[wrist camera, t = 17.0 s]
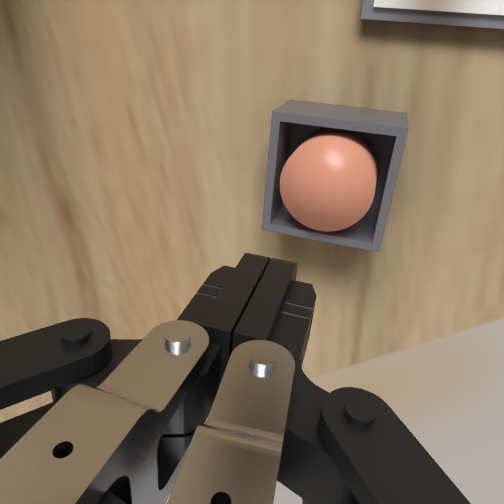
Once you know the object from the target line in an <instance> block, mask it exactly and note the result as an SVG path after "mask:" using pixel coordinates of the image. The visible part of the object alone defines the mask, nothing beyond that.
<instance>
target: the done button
mask: <svg viewBox="0 0 504 504" xmlns="http://www.w3.org/2000/svg"><path fill="white" fill-rule="evenodd" d="M377 174H378V158H377V155H376V152H375V150H374V147H373V146H372V144H371V143H370V141H369V140H368V139H367V138H366V137H365V136H364V135H363V134H361V133H360V132H358V131H351V130H344V129H336V128H328V127H324V128H321V129H319V130H317V131H315V132H313V133H312V134H311V135H309V136H308V137H307V138H306V139H305V140H304V141H303V142H302V144H301V145H300V146H299V147H298V148H297V149H296V150H295V151H294V153H293V154H292V155H291V156H290V157H289V158H288V160H287V161H286V163H285V165H284V167H283V169H282V173H281V177H280V193H281V197H282V200H283V203H284V205H285V207H286V208H287V210H288V211H289V213H290V214H291V215H292V216H293V217H294V218H295V219H296V220H297V221H298V222H300V223H301V224H303V225H305V226H307V227H309V228H312V229H315V230H319V231H338V230H342V229H345V228H348V227H350V226H352V225H354V224H355V223H356V222H358V221H359V220H360V219H361V218H362V217H363V216H364V215H365V214H366V213H367V211H368V210H369V208H370V206H371V204H372V202H373V198H374V194H375V188H376V181H377Z"/></svg>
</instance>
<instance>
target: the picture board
mask: <svg viewBox="0 0 504 504" xmlns="http://www.w3.org/2000/svg"><path fill="white" fill-rule="evenodd" d="M360 19H365V20H379V21H393V22H407V23H421V24H435V25H448V26H462V27H476V28H490V29H504V0H363V6H362V12H361V18H360Z"/></svg>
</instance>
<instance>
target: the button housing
mask: <svg viewBox="0 0 504 504" xmlns="http://www.w3.org/2000/svg"><path fill="white" fill-rule="evenodd" d="M324 127H328V128H336V129H344V130H351V131H358V132H360V133H361V134H363V135H364V136H365V137H366V138H367V139H368V140H369V141H370V143H371V144H372V146H373V147H374V150H375V152H376V155H377V158H378V174H377V181H376V188H375V194H374V198H373V202H372V204H371V206H370V208H369V210H368V211H367V213H366V214H365V215H364V216H363V217H362V218H361V219H360V220H359V221H358V222H356V223H355V224H354V225H352V226H350V227H348V228H345V229H342V230H338V231H319V230H315V229H312V228H309V227H307V226H305V225H303V224H301V223H300V222H298V221H297V220H296V219H295V218H294V217H293V216H292V215H291V214H290V213H289V211H288V210H287V208H286V207H285V205H284V203H283V200H282V197H281V193H280V177H281V173H282V169H283V167H284V165H285V163H286V161H287V160H288V158H289V157H290V156H291V155H292V154H293V153H294V151H295V150H296V149H297V148H298V147H299V146H300V145H301V144H302V142H303V141H304V140H305V139H306V138H307V137H308V136H309V135H311V134H312V133H313V132H315V131H317V130H319V129H321V128H324ZM407 132H408V120H407V113H399V112H390V111H382V110H373V109H365V108H357V107H348V106H340V105H331V104H323V103H314V102H306V101H297V100H290V101H288V102H286V103H285V104H283V105H282V106H280V107H278V108H277V109H275V110H273V111H272V120H271V131H270V143H269V154H268V165H267V177H266V188H265V200H264V211H263V222H262V230H265V231H270V232H276V233H281V234H286V235H291V236H297V237H302V238H307V239H312V240H317V241H323V242H328V243H333V244H338V245H344V246H349V247H354V248H359V249H365V250H370V251H375V252H379V250H380V246H381V242H382V238H383V233H384V229H385V225H386V221H387V217H388V212H389V208H390V204H391V200H392V195H393V191H394V187H395V183H396V178H397V174H398V170H399V166H400V161H401V157H402V153H403V149H404V145H405V140H406V136H407Z"/></svg>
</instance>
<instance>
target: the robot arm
mask: <svg viewBox="0 0 504 504" xmlns="http://www.w3.org/2000/svg"><path fill="white" fill-rule="evenodd" d="M296 274H297V263H294V262H289V261H284V260H279V259H274V258H272V259H271V258H269V257H264V256H259V255H254V254H249V253H245V254H244V255H243V257H242V258H241V260H240V262H239V263H238V265H237V266H236V268H233V267H228V266H223V267H221V268H219V269H217V270H216V271H214V272H212V273H211V274H210V275H209V276H208V278H207V279H206V281H205V282H204V284H203V285H202V286H201V287H200V289H199V290H198V293H197V294H195V296H194V297H193V298H192V300H191V301H190V303H189V304H188V305H187V307H186V308H185V309H184V311H183V312H182V314H181V315H180V316H179V318H178V319H177V320H175V321H169V322H165V323H162V324H160V325H158V326H156V327H155V328H153V329H152V330H151V331H150V332H149V333H148V334H147V335H146V336H145V337H144V338H143V339H140V340H118V339H111V337H110V330H109V328H108V327H107V326H106V325H105V324H104V323H103V322H101V321H98V320H95V319H89V318H80V319H72V320H69V321H65V322H62V323H58V324H55V325H52V326H49V327H45V328H42V329H39V330H35V331H32V332H29V333H25V334H22V335H19V336H16V337H12V338H9V339H6V340H2V341H0V410H1V409H3V408H6V407H9V406H11V405H14V404H17V403H19V402H22V401H24V400H27V399H30V398H32V397H35V396H38V395H40V394H43V393H45V392H48V391H51V394H52V399H53V402H52V403H50V404H47V405H45V406H42V407H40V408H37V409H35V410H32V411H30V412H27V413H25V414H22V415H20V416H17V417H14V418H12V419H9V420H7V421H4V422H2V423H0V504H165V503H166V501H167V499H168V497H169V495H170V493H171V495H170V498H169V500H168V503H167V504H273V500H274V494H275V488H276V482H277V481H279V482H281V483H282V484H283V485H284V486H286V487H287V488H289V489H290V490H292V491H293V492H294V493H296V494H297V495H299V496H300V497H301V498H302V500H303V504H470V502H469V501H468V500H467V499H466V498H465V496H464V495H463V494H462V493H461V492H460V490H459V489H458V488H457V487H456V486H455V484H454V483H453V482H452V481H451V480H450V479H449V477H448V476H447V475H446V474H445V473H444V471H443V470H442V469H441V468H440V467H439V465H438V464H437V463H436V462H435V461H434V459H433V458H432V457H431V456H430V455H429V454H428V452H427V451H426V450H425V449H424V447H423V446H422V445H421V444H420V443H419V441H417V439H416V438H415V437H414V436H413V434H412V433H411V432H410V431H409V430H408V428H407V427H406V426H405V425H404V424H403V422H402V421H401V420H400V419H399V418H398V417H397V415H396V414H395V413H394V412H393V410H392V409H391V408H390V407H389V406H388V405H387V404H386V403H385V402H384V401H383V400H382V399H381V398H379V397H378V396H376V395H375V394H373V393H371V392H369V391H366V390H363V389H359V388H353V387H344V388H339V389H336V390H334V391H332V392H331V393H329V392H327V391H325V390H323V389H321V388H320V387H318V386H316V385H315V384H314V383H313V382H311V381H310V380H309V379H308V378H307V377H306V375H305V374H304V372H303V370H302V368H301V367H302V363H303V359H304V356H305V352H306V348H307V344H308V340H309V335H310V329H311V324H312V318H313V312H314V307H315V301H316V293H315V291H314V289H313V286H312V284H309V283H304V282H299V281H295V280H296ZM209 413H210V414H209ZM208 415H209V416H208ZM207 417H208V419H207ZM206 419H207V422H206Z"/></svg>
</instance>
